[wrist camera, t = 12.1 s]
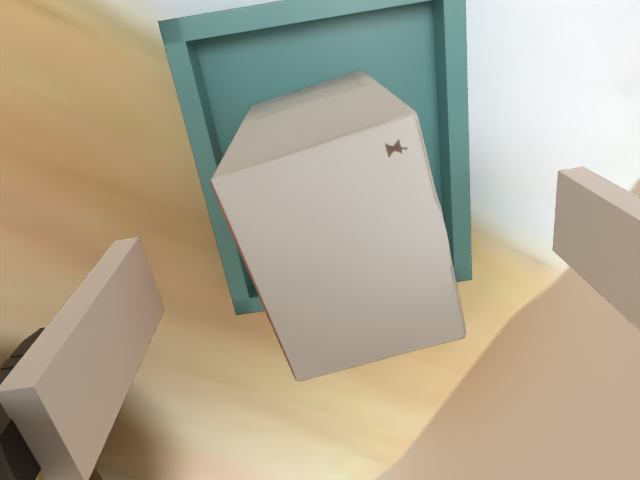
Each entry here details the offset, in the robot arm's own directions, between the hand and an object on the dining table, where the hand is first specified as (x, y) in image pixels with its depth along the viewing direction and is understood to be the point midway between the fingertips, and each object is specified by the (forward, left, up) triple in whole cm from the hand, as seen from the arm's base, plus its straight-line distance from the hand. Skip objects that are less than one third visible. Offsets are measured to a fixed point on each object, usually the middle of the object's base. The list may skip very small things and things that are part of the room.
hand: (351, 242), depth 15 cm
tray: (0, 0, -13) cm, 13 cm away
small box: (0, 0, -13) cm, 13 cm away
